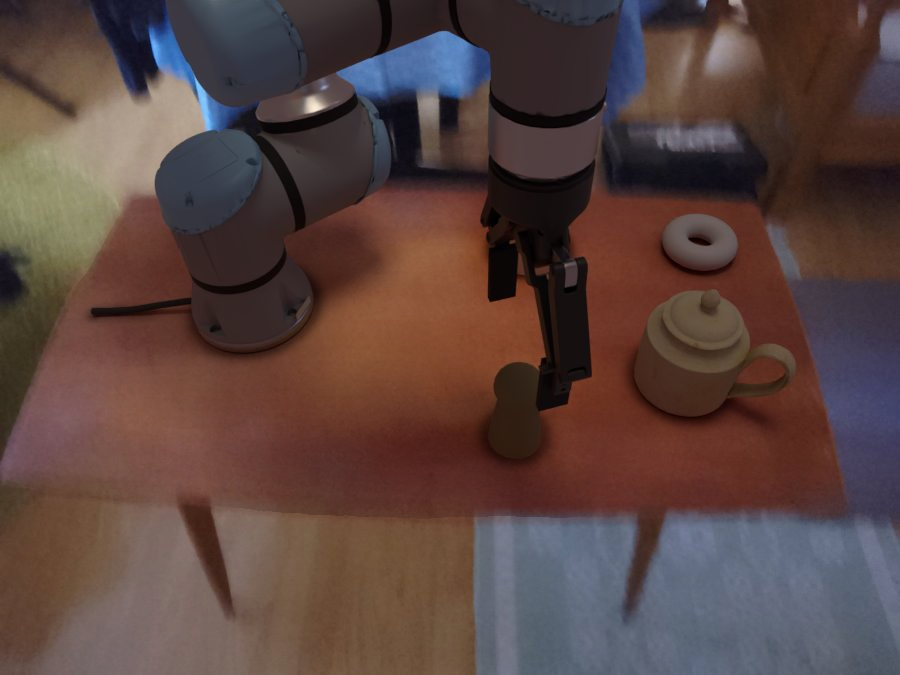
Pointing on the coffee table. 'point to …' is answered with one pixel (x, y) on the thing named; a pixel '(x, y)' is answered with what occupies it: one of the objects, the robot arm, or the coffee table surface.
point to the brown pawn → (515, 412)
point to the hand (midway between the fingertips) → (524, 347)
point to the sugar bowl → (701, 355)
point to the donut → (698, 255)
